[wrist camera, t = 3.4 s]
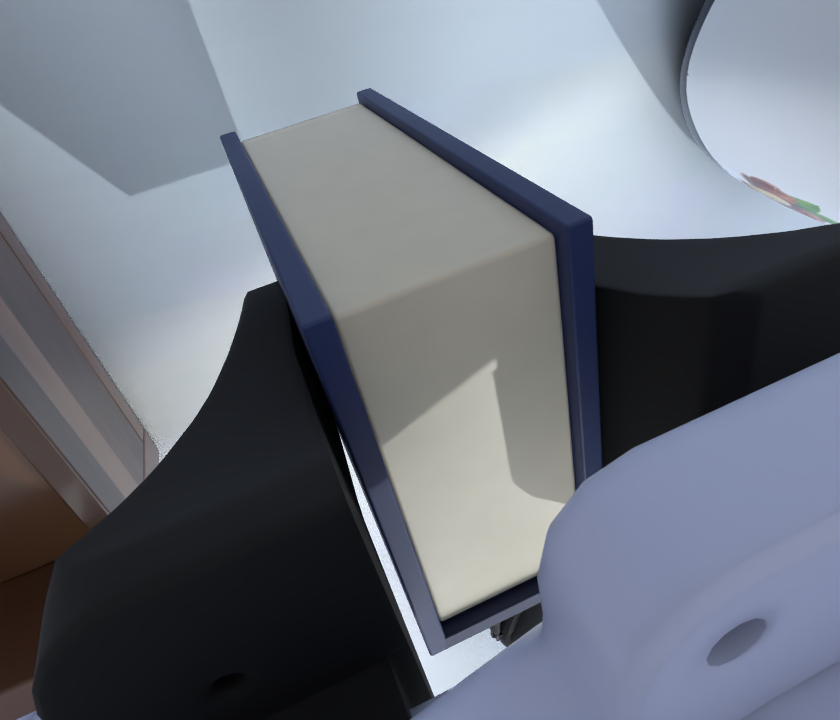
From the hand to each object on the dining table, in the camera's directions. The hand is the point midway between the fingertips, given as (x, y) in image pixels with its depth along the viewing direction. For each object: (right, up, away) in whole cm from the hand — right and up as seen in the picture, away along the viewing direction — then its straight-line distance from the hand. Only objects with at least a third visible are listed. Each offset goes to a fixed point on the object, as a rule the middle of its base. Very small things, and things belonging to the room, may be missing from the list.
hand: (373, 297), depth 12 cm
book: (-1, +1, +2) cm, 2 cm away
